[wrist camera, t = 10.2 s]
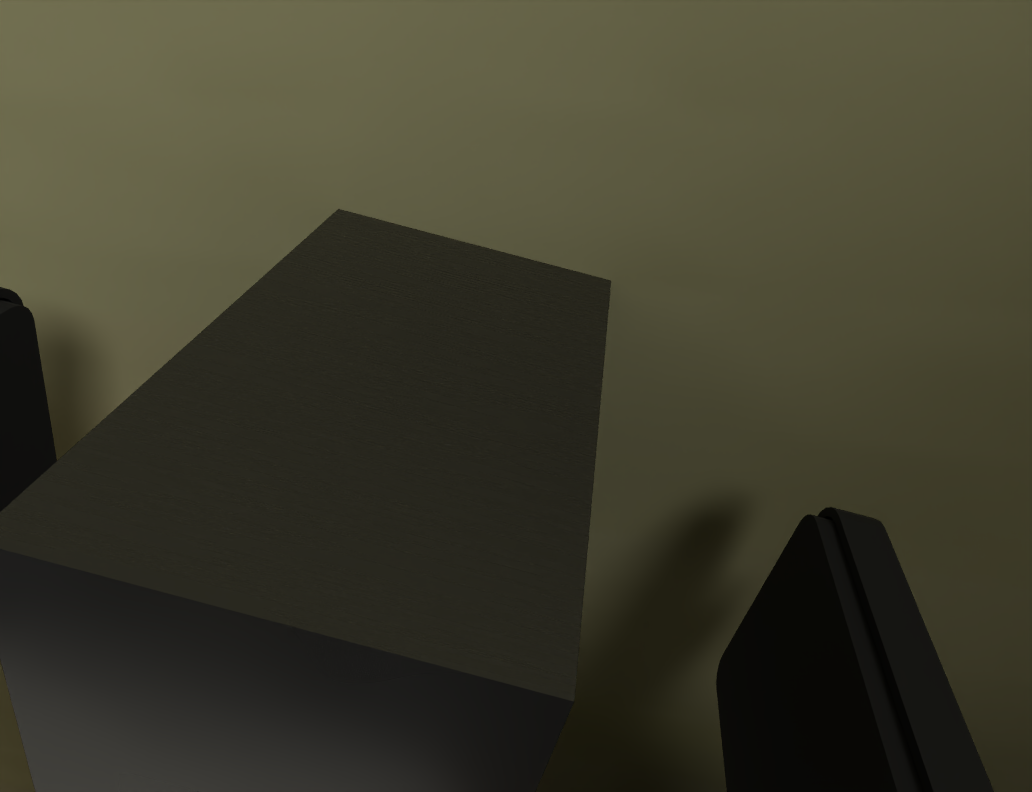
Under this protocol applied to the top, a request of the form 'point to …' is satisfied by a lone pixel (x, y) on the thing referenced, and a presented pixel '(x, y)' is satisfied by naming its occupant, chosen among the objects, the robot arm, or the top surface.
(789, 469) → the top surface
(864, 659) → the robot arm
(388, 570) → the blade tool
